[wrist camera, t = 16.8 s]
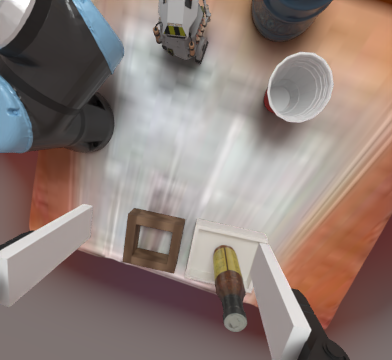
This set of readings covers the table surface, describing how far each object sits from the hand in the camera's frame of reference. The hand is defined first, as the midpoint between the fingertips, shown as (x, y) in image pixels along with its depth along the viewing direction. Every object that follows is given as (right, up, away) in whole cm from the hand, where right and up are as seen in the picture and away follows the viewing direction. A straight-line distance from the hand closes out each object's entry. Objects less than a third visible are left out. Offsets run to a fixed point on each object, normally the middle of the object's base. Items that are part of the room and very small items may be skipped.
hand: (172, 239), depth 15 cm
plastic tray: (+9, -15, +39) cm, 43 cm away
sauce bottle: (+10, -15, +38) cm, 42 cm away
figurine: (0, +36, +27) cm, 45 cm away
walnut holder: (-9, -11, +39) cm, 42 cm away
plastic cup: (+20, +22, +29) cm, 42 cm away
